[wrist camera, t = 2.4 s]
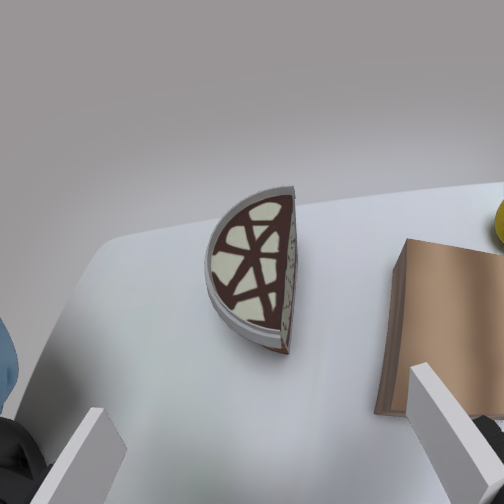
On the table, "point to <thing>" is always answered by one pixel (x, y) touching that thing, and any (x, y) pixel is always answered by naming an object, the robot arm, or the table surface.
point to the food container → (256, 267)
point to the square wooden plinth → (446, 327)
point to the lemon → (500, 222)
